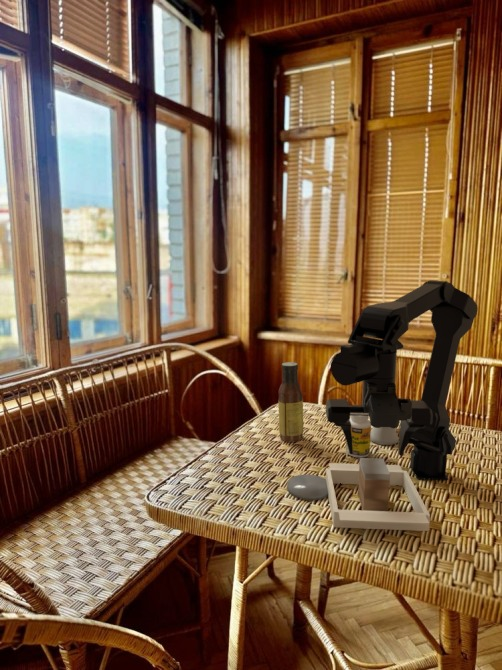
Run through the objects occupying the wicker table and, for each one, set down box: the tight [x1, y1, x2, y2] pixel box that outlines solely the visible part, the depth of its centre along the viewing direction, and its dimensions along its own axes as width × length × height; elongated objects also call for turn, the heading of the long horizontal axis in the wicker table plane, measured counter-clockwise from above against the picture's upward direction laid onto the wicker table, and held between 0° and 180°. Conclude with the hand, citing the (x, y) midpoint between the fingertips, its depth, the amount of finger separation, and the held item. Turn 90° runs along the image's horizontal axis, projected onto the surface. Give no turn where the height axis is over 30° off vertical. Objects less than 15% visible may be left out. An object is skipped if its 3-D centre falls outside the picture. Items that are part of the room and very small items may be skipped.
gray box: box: [357, 457, 391, 511], centre depth 91 cm, size 4×6×8 cm
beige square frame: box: [325, 462, 431, 532], centre depth 92 cm, size 17×21×3 cm
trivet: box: [286, 474, 328, 501], centre depth 98 cm, size 9×9×1 cm
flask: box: [370, 426, 399, 446], centre depth 121 cm, size 7×7×10 cm
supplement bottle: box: [345, 415, 372, 459], centre depth 113 cm, size 6×6×10 cm
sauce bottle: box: [278, 361, 304, 443], centre depth 121 cm, size 7×6×20 cm
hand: (375, 454), depth 90 cm, fingers open, 9 cm apart
